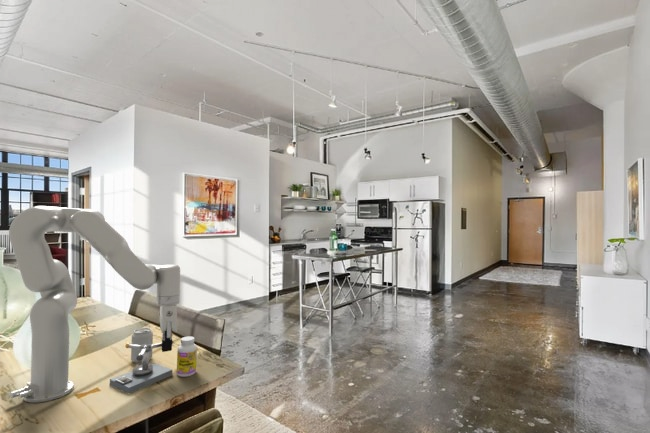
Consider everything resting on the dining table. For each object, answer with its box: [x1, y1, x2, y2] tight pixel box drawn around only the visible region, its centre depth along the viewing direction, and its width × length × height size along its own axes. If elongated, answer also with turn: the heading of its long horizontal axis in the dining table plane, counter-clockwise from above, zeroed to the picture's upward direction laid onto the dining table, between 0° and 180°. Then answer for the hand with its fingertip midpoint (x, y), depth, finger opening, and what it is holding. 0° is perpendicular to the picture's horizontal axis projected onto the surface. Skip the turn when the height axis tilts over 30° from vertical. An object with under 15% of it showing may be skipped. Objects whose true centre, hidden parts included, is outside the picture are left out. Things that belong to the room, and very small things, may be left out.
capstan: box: [125, 339, 174, 376], centre depth 123 cm, size 14×17×10 cm
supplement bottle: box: [176, 335, 198, 378], centre depth 127 cm, size 7×7×13 cm
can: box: [130, 327, 154, 364], centre depth 138 cm, size 8×8×12 cm
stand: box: [109, 362, 173, 395], centre depth 121 cm, size 16×11×4 cm
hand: (166, 350), depth 124 cm, fingers closed
